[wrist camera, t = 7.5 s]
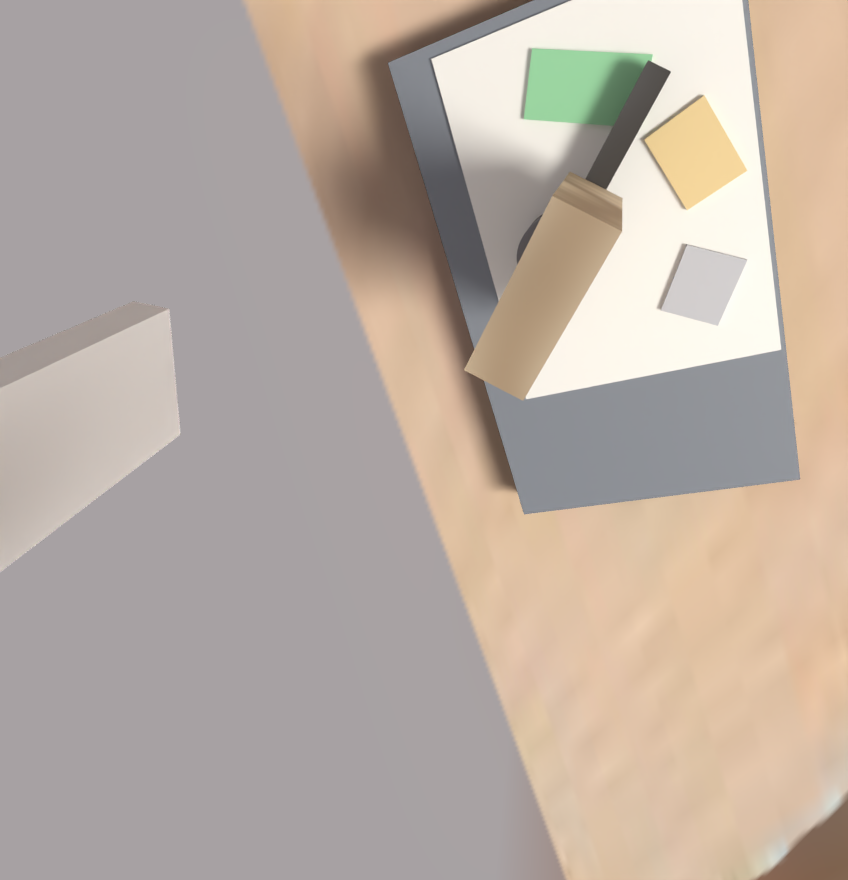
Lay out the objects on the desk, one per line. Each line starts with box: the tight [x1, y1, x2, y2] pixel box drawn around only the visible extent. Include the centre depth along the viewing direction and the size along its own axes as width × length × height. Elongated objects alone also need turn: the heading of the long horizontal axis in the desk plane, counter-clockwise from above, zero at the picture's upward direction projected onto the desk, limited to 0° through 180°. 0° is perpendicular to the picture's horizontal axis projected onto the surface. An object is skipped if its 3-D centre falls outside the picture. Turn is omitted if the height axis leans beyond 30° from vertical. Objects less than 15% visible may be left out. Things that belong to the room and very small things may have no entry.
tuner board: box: [388, 0, 800, 514], centre depth 28 cm, size 22×13×2 cm, turn 19°
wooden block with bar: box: [464, 60, 671, 401], centre depth 22 cm, size 3×10×9 cm, turn 157°
